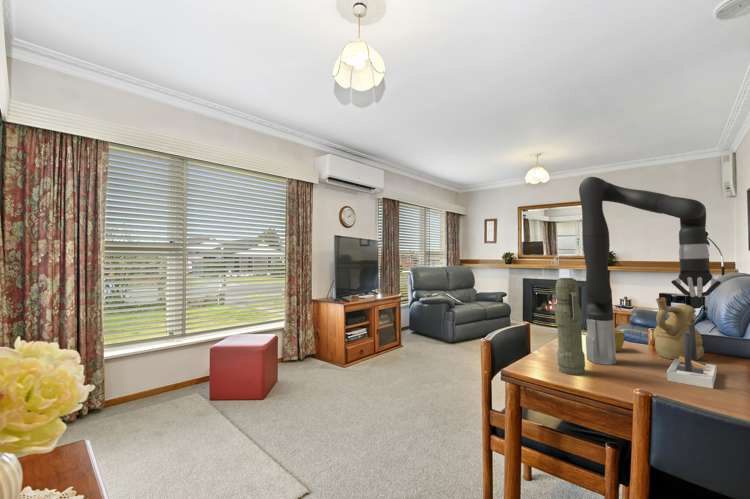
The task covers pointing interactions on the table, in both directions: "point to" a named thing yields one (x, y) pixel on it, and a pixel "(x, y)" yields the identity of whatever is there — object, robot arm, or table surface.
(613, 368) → the table surface
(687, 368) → the dark grey peg
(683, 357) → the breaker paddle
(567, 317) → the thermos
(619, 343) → the flower pot
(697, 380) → the breaker board
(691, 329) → the dark grey rod
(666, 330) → the ceramic vessel
